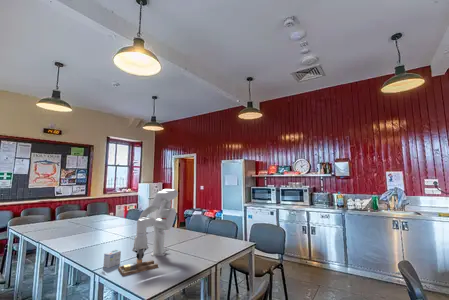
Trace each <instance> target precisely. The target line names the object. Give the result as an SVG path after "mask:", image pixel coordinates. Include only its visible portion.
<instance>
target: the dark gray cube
mask: <svg viewBox="0 0 449 300" xmlns="http://www.w3.org/2000/svg"><path fill="white" fill-rule="evenodd" d="M136 264H137V263H135V262H134V263H129V265H130V266H131V268H130V271H133V270H136Z"/></svg>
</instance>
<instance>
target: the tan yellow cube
mask: <svg viewBox="0 0 449 300" xmlns="http://www.w3.org/2000/svg"><path fill="white" fill-rule="evenodd" d="M129 264H130V263H129ZM129 264H128V263H127V264H124V265H122V266H123V269H122V271H123V272H128V271H130V268H131V266H130V265H129Z"/></svg>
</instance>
